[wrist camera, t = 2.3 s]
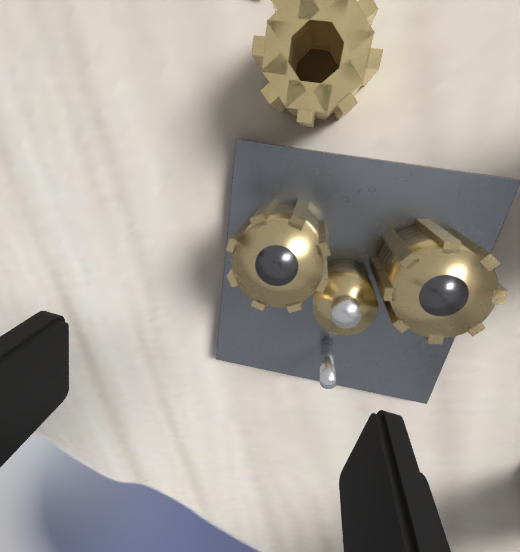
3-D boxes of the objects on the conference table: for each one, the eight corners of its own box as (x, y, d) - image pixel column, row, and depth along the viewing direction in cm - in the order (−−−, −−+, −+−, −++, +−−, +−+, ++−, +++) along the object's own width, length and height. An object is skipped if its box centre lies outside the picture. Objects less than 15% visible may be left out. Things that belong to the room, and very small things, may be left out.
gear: (379, 18, 22) (399, -24, 16) (354, 133, 24) (364, 130, 19) (275, 8, 22) (260, -36, 17) (261, 120, 25) (245, 114, 20)
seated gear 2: (474, 218, 24) (520, 241, 19) (457, 304, 27) (493, 347, 21) (374, 219, 25) (389, 241, 20) (367, 301, 28) (379, 341, 22)
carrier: (512, 178, 24) (575, 190, 18) (423, 394, 32) (446, 452, 26) (239, 139, 26) (216, 139, 20) (219, 352, 34) (198, 396, 28)
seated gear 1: (311, 183, 25) (309, 195, 19) (340, 265, 27) (345, 297, 21) (230, 215, 27) (207, 235, 21) (262, 289, 29) (249, 324, 23)
